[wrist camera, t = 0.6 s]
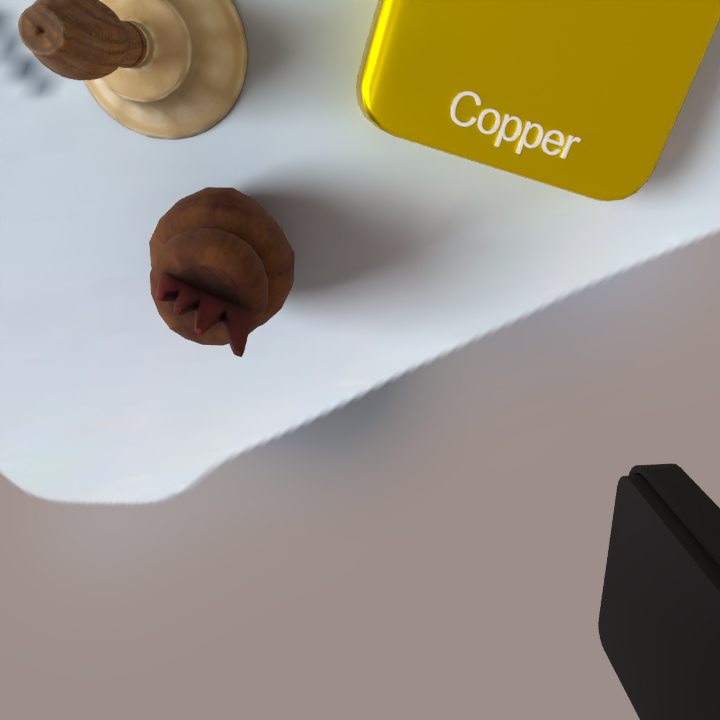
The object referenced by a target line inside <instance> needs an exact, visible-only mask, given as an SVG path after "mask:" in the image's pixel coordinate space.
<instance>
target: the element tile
mask: <svg viewBox="0 0 720 720" xmlns="http://www.w3.org/2000/svg"><path fill="white" fill-rule="evenodd" d="M719 20H720V0H378V3H377V6H376V10H375V14H374V17H373V21H372V24H371V28H370V32H369V35H368V39H367V43H366V46H365V50H364V53H363V57H362V61H361V64H360V68H359V71H358V75H357V83H356V92H357V101H358V105H359V107H360V109H361V111H362V113H363V115H364V116H365V117H366V118H367V119H368V120H369V121H370V122H371V123H373V124H374V125H375V126H376V127H378V128H379V129H381V130H383V131H385V132H387V133H389V134H391V135H393V136H395V137H399V138H402V139H405V140H408V141H411V142H415V143H418V144H421V145H424V146H427V147H430V148H434V149H437V150H440V151H443V152H446V153H449V154H453V155H456V156H459V157H462V158H465V159H468V160H472V161H475V162H478V163H481V164H484V165H487V166H491V167H494V168H497V169H500V170H503V171H506V172H510V173H513V174H516V175H519V176H522V177H525V178H529V179H532V180H535V181H538V182H541V183H544V184H548V185H551V186H554V187H557V188H560V189H563V190H567V191H570V192H573V193H576V194H579V195H582V196H586V197H589V198H592V199H595V200H601V201H614V200H622V199H625V198H627V197H629V196H630V195H632V194H634V193H636V192H637V191H638V190H639V189H640V188H641V187H642V186H643V185H644V184H645V183H646V182H647V181H648V179H649V177H650V176H651V174H652V172H653V171H654V169H655V167H656V164H657V162H658V160H659V158H660V155H661V153H662V151H663V148H664V146H665V144H666V141H667V139H668V137H669V135H670V132H671V130H672V128H673V125H674V123H675V121H676V119H677V116H678V114H679V112H680V109H681V107H682V105H683V102H684V100H685V98H686V96H687V93H688V91H689V89H690V86H691V84H692V82H693V79H694V77H695V75H696V73H697V70H698V68H699V66H700V63H701V61H702V59H703V56H704V54H705V52H706V50H707V47H708V45H709V43H710V40H711V38H712V36H713V34H714V31H715V29H716V27H717V24H718V22H719Z"/></svg>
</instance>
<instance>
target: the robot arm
mask: <svg viewBox="0 0 720 720" xmlns="http://www.w3.org/2000/svg"><path fill="white" fill-rule="evenodd" d="M598 626H599V635H600V639H601V643H602V646H603V648H604V651H605V652H606V654H607V656H608V658H609V660H610V662H611V664H612V666H613V668H614V670H615V672H616V674H617V676H618V678H619V680H620V682H621V684H622V686H623V687H624V689H625V691H626V693H627V695H628V697H629V699H630V701H631V703H632V705H633V707H634V709H635V711H636V713H637V715H638V717H639V718H640V720H720V508H719V507H718V506H717V505H716V504H715V503H714V502H713V501H712V500H711V499H710V498H709V497H708V496H707V495H706V494H705V492H704V491H702V490H701V488H700V487H699V486H698V485H697V484H696V483H695V482H694V481H693V480H692V479H691V478H690V477H689V476H688V475H687V474H686V473H685V472H684V471H683V470H682V468H680V467H679V466H678V465H676V464H658V465H657V464H656V465H636V466H634V467H633V468H632V469H631V471H630V473H629V476H623V477H621V478H620V480H619V482H618V486H617V492H616V499H615V507H614V514H613V521H612V528H611V535H610V543H609V550H608V557H607V564H606V572H605V578H604V586H603V593H602V601H601V607H600V614H599V625H598Z"/></svg>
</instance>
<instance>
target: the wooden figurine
mask: <svg viewBox="0 0 720 720" xmlns="http://www.w3.org/2000/svg"><path fill="white" fill-rule="evenodd" d="M149 243H150V256H151V267H152V270H151V273H150V283H151V294H152V297H153V300H154V302H155V304H156V307H157V309H158V312H159V314H160V316H161V317H162V318H163V320H164V321H165V322H166V324H167V325H168V326H169V328H170V329H171V330H173V331H174V332H176V333H178V334H179V335H181V336H182V337H184V338H185V339H188V340H191V341H194V342H197V343H199V344H202V345H226V344H230V346H231V349H232V351H233V353H234V354H235V355H237V356H239V357H242V355H243V353H244V350H245V345H246V341H247V337H248V334H250V333H251V332H252V331H253V330H254V329H255V328H257V327H258V326H261V325H263V324H265V323H266V322H267V321H268V320H269V319H270V318H271V317H272V316H274V315H275V314H276V313H277V312H278V311H279V310H280V309H281V308H282V306H283V304H284V302H285V300H286V298H287V296H288V294H289V292H290V290H291V288H292V284H293V276H294V252H293V250H292V248H291V246H290V245H289V243H288V241H287V239H286V237H285V235H284V233H283V231H282V229H281V228H280V227H279V226H278V224H277V223H276V222H275V221H274V220H273V218H272V217H271V216H270V215H269V214H268V213H267V212H266V211H265V210H264V209H263V208H262V207H261V206H260V205H259V204H258V203H256V202H255V201H254V200H253V199H251V198H250V197H248V196H246V195H244V194H242V193H241V192H239V191H237V190H235V189H233V188H213V187H207V188H205V189H203V190H200V191H198V192H196V193H194V194H192V195H189V196H187V197H185V198H183V199H181V200H179V201H178V202H177V203H176V204H175V205H174V206H173V207H172V208H171V209H170V210H169V211H168V212H167V213H166V214H165V215H164V216H163V217H162V218H161V219H160V220H159V222H158V224H157V227H156V229H155V231H154V233H153V235H152V238H151V240H150V242H149Z"/></svg>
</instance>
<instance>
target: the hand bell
mask: <svg viewBox="0 0 720 720" xmlns="http://www.w3.org/2000/svg"><path fill="white" fill-rule="evenodd" d="M18 27H19V35H20V37H21V40H22V42H23V43H24V44H25V46H26V47H28V48H29V49H30V50H31V51H32V52H33V54H34V55H35V56H36V57H37V58H38V60H39V61H40V62H41V63H42V64H43V65H44V66H46V67H47V68H49V69H50V70H51V71H53V72H55V73H57V74H59V75H61V76H63V77H66V78H70V79H75V80H83V81H84V83H85V84H86V86H87V88H88V90H89V92H90V93H91V95H92V96H93V98H94V99H95V100H96V102H97V103H98V104H99V105H100V106H101V108H102V109H103V110H104V111H105V112H106V113H107V114H108V115H110V116H111V117H112V118H113V119H114V120H116V121H117V122H119V123H120V124H121V125H123V126H125V127H126V128H128V129H130V130H132V131H134V132H137V133H139V134H142V135H145V136H148V137H152V138H159V139H181V138H187V137H191V136H195V135H197V134H200V133H202V132H204V131H206V130H208V129H209V128H211V127H213V126H214V125H215V124H217V123H218V122H219V121H220V120H221V119H222V118H223V117H224V116H225V115H226V114H227V113H228V112H229V110H230V109H231V108H232V106H233V105H234V103H235V102H236V100H237V98H238V96H239V94H240V92H241V89H242V86H243V83H244V80H245V75H246V69H247V44H246V38H245V32H244V28H243V25H242V22H241V19H240V17H239V14H238V12H237V10H236V8H235V6H234V4H233V3H232V1H231V0H37V1H36V2H35V3H34V4H33V5H32V6H30V7H28V8H27V9H26V10H25V11H24V12H23V13H22V14H21V16H20V18H19V21H18Z"/></svg>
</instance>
